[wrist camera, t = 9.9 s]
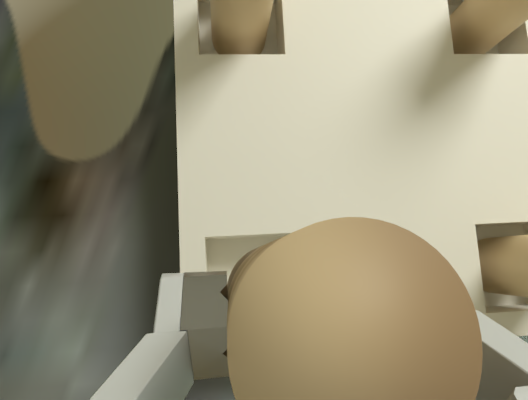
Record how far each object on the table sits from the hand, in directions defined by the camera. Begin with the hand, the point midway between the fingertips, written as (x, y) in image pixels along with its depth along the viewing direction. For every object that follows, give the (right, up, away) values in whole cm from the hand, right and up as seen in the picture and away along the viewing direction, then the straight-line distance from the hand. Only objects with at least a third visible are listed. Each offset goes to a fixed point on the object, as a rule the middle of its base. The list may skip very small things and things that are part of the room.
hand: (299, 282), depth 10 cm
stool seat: (+6, +5, +19) cm, 20 cm away
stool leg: (-1, -2, +6) cm, 7 cm away
